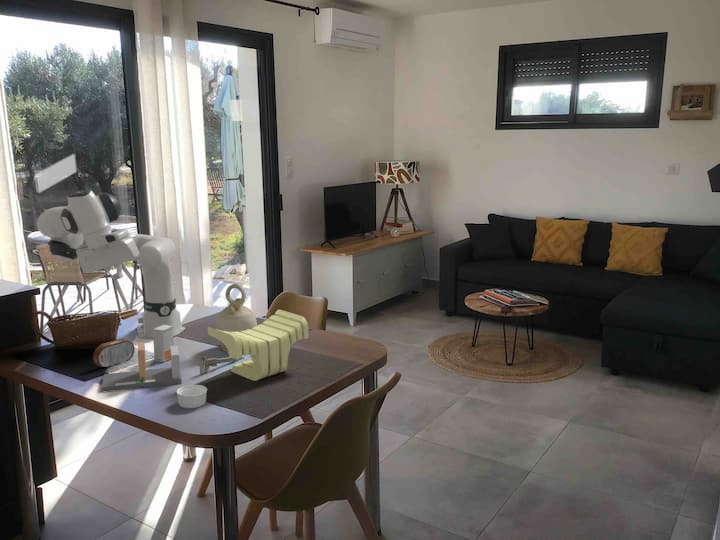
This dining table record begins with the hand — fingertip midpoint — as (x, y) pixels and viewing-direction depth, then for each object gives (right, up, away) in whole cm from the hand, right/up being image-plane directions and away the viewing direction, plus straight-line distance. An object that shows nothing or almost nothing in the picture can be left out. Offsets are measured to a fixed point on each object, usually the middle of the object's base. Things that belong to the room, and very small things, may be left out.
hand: (118, 278), depth 202 cm
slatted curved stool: (+45, -32, +11) cm, 56 cm away
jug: (+32, -27, +35) cm, 55 cm away
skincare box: (+8, -30, +22) cm, 38 cm away
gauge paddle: (+8, -32, +1) cm, 33 cm away
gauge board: (+7, -34, +2) cm, 34 cm away
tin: (-8, -31, +17) cm, 36 cm away
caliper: (+31, -31, +16) cm, 47 cm away
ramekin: (+28, -38, -15) cm, 49 cm away
